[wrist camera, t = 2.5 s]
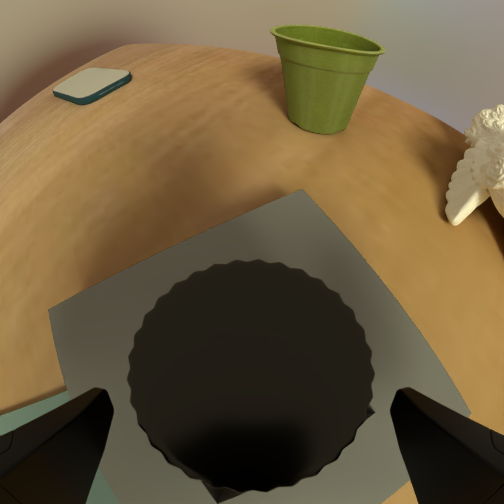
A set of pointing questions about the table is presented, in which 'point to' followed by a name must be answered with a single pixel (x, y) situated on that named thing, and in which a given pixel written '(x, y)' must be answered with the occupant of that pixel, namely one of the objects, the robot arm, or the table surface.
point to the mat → (100, 494)
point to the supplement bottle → (250, 375)
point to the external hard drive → (91, 85)
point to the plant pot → (323, 74)
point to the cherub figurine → (479, 167)
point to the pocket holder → (247, 249)
